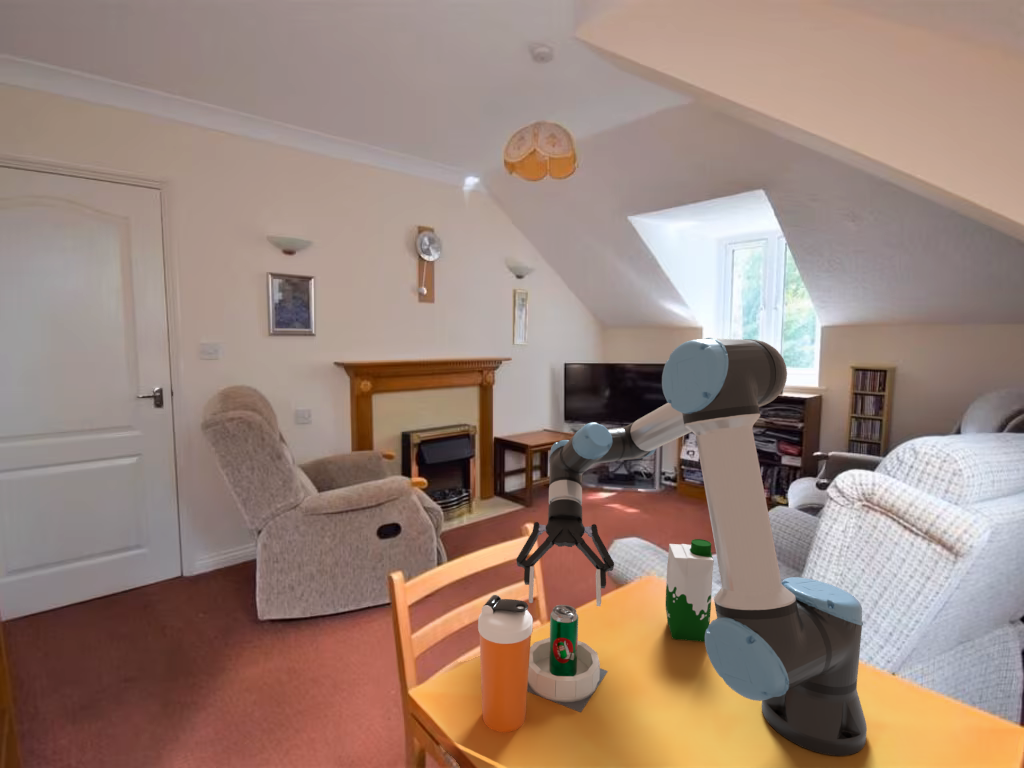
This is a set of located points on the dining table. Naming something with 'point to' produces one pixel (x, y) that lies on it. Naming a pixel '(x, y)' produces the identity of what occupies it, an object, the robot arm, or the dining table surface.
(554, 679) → the bowl
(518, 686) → the shaker bottle
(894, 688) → the dining table surface
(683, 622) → the milk carton
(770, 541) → the robot arm
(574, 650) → the soda can
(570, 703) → the mat
